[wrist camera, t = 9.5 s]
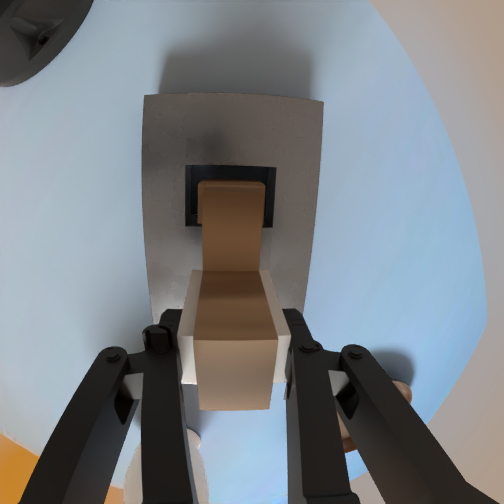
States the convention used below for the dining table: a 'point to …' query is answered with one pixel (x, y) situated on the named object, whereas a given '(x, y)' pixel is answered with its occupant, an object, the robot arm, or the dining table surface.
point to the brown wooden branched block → (233, 300)
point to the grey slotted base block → (229, 153)
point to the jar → (134, 476)
